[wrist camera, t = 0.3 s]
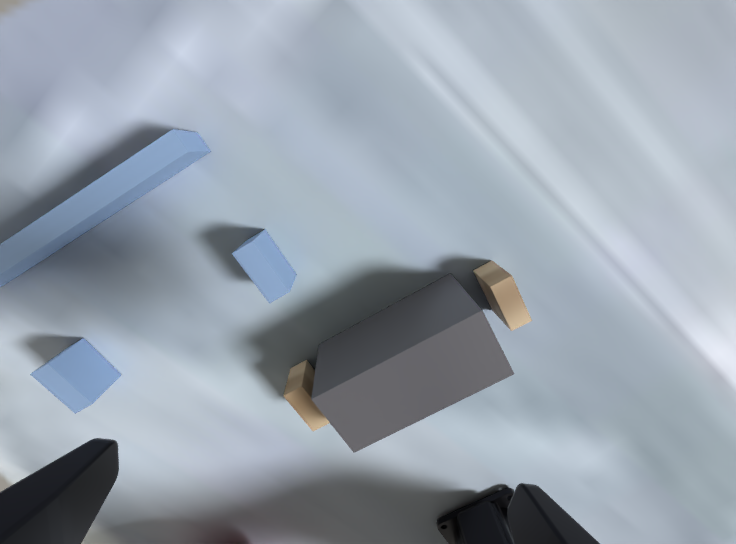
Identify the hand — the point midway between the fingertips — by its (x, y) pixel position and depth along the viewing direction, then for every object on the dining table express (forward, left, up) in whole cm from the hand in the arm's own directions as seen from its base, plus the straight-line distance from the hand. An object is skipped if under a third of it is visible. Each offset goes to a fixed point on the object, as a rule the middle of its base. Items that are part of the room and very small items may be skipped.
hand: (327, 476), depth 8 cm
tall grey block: (-5, -1, -13) cm, 14 cm away
